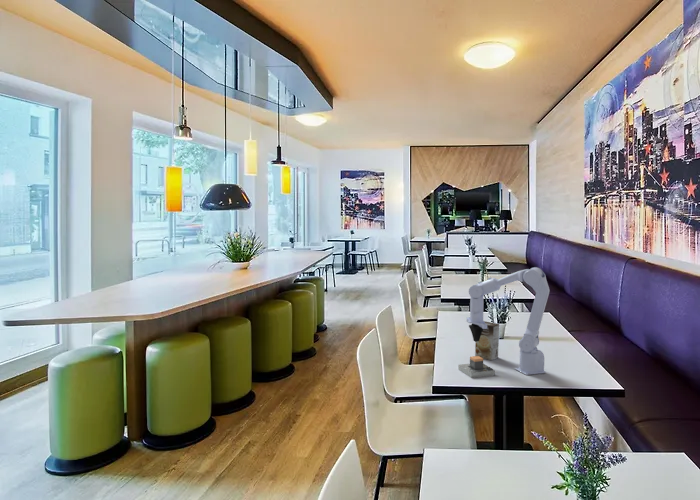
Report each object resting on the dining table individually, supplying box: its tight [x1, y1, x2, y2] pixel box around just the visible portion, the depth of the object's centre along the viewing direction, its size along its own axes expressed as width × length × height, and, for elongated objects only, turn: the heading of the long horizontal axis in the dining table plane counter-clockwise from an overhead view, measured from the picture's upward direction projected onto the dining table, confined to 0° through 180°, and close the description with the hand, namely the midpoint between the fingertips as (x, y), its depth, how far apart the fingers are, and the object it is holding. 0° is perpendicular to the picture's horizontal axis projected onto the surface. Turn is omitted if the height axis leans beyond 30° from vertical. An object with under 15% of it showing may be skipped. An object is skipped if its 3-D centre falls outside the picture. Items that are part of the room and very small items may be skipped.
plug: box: [469, 355, 484, 370], centre depth 203 cm, size 4×4×6 cm
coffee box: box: [474, 320, 500, 361], centre depth 223 cm, size 9×6×16 cm
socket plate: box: [458, 363, 496, 379], centre depth 203 cm, size 11×11×2 cm
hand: (476, 341), depth 215 cm, fingers closed
